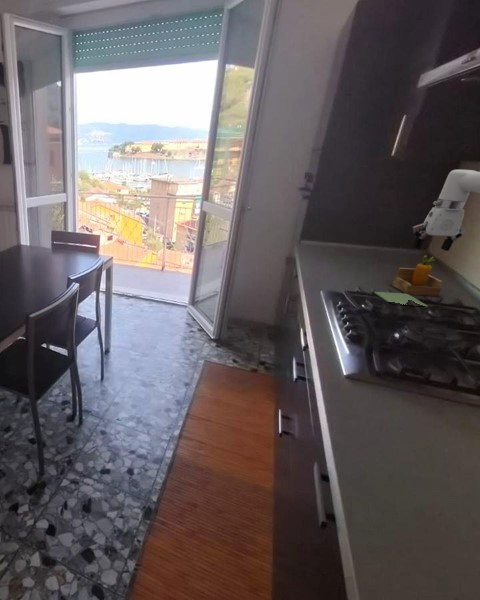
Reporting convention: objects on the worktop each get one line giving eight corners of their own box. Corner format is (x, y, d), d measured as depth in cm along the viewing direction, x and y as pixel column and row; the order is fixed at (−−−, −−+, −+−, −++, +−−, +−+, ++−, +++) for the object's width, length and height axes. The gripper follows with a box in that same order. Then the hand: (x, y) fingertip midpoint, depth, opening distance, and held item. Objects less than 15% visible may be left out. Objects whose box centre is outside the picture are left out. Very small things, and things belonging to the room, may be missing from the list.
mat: (427, 307, 132) (428, 306, 131) (391, 305, 134) (391, 303, 133) (407, 295, 142) (407, 293, 142) (373, 292, 144) (374, 291, 144)
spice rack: (438, 296, 141) (446, 277, 138) (406, 294, 143) (414, 275, 140) (421, 287, 150) (428, 269, 147) (391, 285, 152) (398, 267, 149)
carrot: (419, 289, 148) (434, 254, 142) (424, 293, 144) (439, 258, 138) (404, 287, 150) (418, 253, 144) (408, 291, 146) (423, 256, 140)
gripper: (430, 205, 131) (411, 250, 138) (485, 207, 128) (463, 253, 135) (416, 202, 137) (399, 245, 145) (468, 204, 135) (448, 247, 142)
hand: (430, 249), depth 140 cm, fingers open, 9 cm apart
